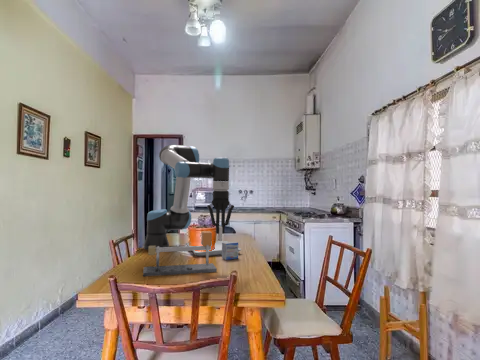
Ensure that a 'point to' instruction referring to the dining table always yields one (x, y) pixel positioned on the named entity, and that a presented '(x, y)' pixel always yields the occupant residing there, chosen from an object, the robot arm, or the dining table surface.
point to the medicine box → (230, 250)
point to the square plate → (214, 252)
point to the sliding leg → (206, 243)
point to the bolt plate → (179, 269)
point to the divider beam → (156, 250)
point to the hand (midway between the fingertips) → (220, 240)
